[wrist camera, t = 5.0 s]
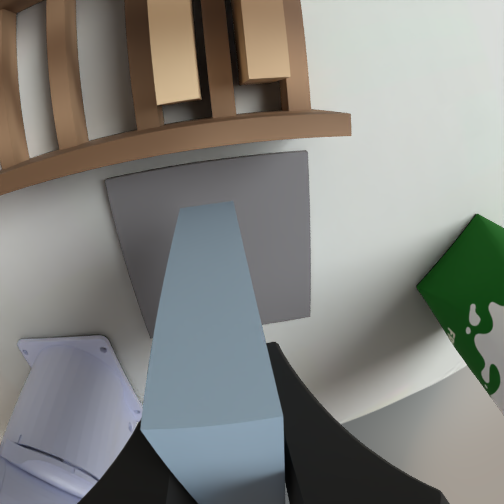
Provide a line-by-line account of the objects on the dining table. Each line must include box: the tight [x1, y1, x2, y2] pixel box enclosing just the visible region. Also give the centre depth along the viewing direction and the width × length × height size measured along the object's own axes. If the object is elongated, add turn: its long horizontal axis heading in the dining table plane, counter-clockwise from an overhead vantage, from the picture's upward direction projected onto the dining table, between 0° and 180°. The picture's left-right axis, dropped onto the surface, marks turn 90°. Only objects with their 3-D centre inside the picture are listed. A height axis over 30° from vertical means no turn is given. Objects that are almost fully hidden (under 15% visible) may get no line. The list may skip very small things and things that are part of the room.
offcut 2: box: [231, 0, 291, 85], centre depth 10 cm, size 6×2×4 cm, turn 5°
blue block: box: [140, 201, 285, 504], centre depth 10 cm, size 8×2×9 cm, turn 6°
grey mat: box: [105, 150, 311, 338], centre depth 17 cm, size 10×10×1 cm
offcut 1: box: [147, 0, 202, 105], centre depth 10 cm, size 7×2×4 cm, turn 5°
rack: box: [0, 0, 351, 195], centre depth 10 cm, size 10×16×5 cm, turn 95°
